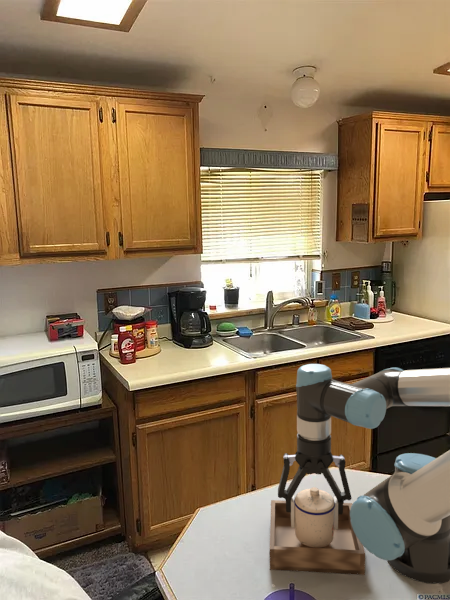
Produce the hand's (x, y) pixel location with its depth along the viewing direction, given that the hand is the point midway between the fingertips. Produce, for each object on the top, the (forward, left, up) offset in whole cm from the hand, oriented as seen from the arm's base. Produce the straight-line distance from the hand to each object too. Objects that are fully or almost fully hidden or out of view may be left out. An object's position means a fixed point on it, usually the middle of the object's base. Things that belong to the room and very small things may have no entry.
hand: (314, 524), depth 109 cm
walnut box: (0, 0, -5) cm, 5 cm away
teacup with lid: (+1, 0, -2) cm, 2 cm away
